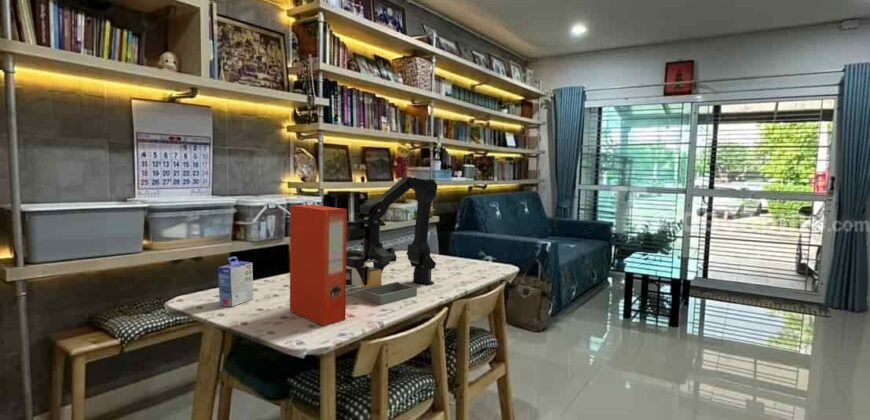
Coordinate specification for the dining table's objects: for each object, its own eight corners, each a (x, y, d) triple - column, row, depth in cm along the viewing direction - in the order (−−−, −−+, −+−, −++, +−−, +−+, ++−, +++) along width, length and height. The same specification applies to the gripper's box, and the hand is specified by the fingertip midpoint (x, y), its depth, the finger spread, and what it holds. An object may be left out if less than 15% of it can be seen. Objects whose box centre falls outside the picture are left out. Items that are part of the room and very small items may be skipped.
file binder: (313, 306, 146) (313, 204, 143) (346, 319, 134) (346, 208, 131) (289, 311, 140) (289, 205, 137) (322, 326, 128) (322, 210, 126)
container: (360, 287, 170) (360, 252, 168) (340, 286, 171) (340, 251, 170) (367, 282, 177) (367, 248, 176) (348, 281, 179) (348, 247, 177)
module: (372, 283, 166) (372, 266, 166) (381, 286, 163) (381, 268, 162) (361, 286, 162) (361, 268, 162) (370, 289, 159) (370, 270, 158)
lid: (377, 285, 173) (377, 281, 173) (395, 291, 166) (395, 286, 166) (341, 293, 161) (341, 288, 161) (359, 299, 154) (359, 294, 154)
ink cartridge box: (240, 297, 155) (240, 253, 153) (254, 299, 153) (253, 255, 151) (217, 305, 145) (216, 259, 144) (232, 307, 143) (231, 260, 142)
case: (395, 291, 166) (395, 281, 166) (416, 297, 159) (416, 287, 158) (359, 299, 154) (359, 289, 154) (380, 306, 147) (380, 296, 147)
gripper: (364, 245, 149) (364, 293, 150) (407, 239, 162) (406, 283, 164) (343, 241, 156) (343, 286, 158) (386, 235, 170) (385, 278, 171)
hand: (371, 283), depth 163 cm, fingers closed on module, 5 cm apart
